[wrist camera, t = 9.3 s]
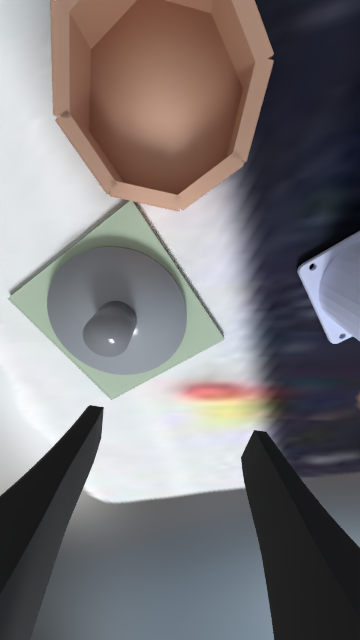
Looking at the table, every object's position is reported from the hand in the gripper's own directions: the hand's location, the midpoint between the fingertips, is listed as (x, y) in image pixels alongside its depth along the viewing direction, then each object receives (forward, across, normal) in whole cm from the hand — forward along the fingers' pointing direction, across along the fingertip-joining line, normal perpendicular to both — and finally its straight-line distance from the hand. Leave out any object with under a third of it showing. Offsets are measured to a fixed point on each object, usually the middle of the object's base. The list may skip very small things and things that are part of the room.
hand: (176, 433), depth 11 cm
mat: (+10, +5, 0) cm, 12 cm away
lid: (+10, +5, -1) cm, 11 cm away
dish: (+10, +4, -14) cm, 18 cm away
